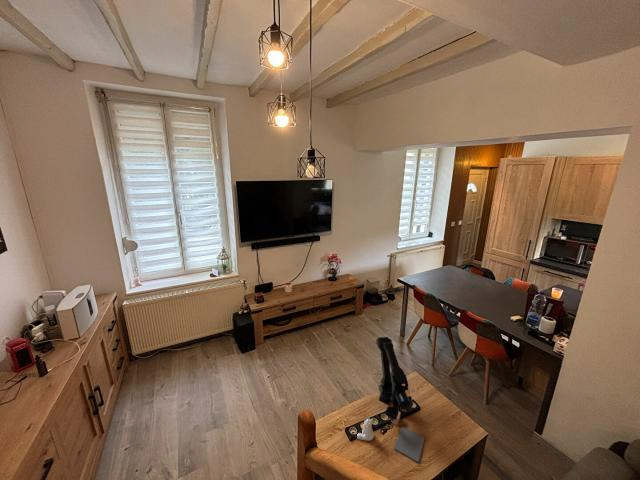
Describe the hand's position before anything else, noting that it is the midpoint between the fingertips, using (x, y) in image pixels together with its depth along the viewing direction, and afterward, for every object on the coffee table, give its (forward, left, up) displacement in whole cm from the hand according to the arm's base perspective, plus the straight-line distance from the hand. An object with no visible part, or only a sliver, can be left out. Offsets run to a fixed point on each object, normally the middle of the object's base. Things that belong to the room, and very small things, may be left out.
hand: (394, 414), depth 150 cm
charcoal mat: (+11, -9, -4) cm, 15 cm away
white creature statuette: (-10, -17, -4) cm, 20 cm away
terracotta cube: (0, 0, -4) cm, 4 cm away
